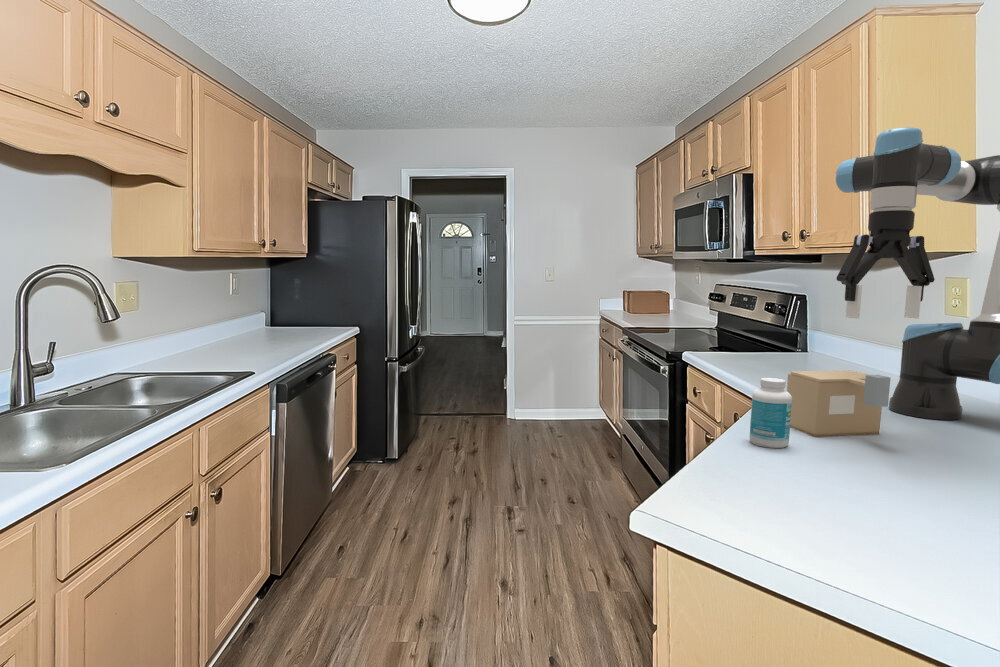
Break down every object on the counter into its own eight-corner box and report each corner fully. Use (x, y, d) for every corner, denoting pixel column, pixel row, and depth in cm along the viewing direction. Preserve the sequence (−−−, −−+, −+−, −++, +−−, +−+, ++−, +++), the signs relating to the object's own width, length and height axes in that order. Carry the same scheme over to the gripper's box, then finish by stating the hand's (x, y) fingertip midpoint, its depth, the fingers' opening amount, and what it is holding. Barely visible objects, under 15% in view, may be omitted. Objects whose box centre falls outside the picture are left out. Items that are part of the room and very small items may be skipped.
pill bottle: (793, 450, 115) (798, 384, 114) (753, 447, 117) (758, 382, 115) (782, 439, 123) (787, 377, 121) (745, 437, 124) (749, 375, 122)
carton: (845, 422, 137) (849, 372, 136) (879, 434, 127) (884, 381, 126) (784, 424, 135) (788, 373, 133) (814, 437, 125) (819, 382, 123)
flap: (850, 387, 136) (852, 362, 135) (915, 405, 118) (917, 376, 118) (789, 389, 133) (791, 363, 132) (846, 407, 116) (849, 378, 115)
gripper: (929, 214, 120) (919, 316, 122) (821, 210, 116) (813, 316, 118) (963, 211, 113) (952, 319, 115) (850, 206, 108) (841, 319, 111)
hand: (882, 318), depth 117 cm, fingers open, 13 cm apart
